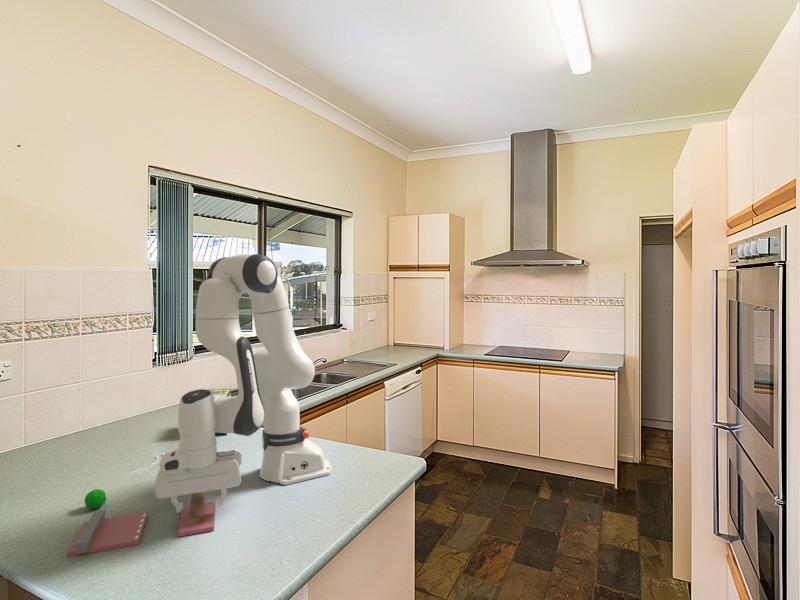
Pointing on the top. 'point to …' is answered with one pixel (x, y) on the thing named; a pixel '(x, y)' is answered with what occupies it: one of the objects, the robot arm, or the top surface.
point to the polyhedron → (95, 499)
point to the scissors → (148, 466)
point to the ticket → (108, 533)
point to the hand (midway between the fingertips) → (200, 508)
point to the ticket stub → (197, 516)
